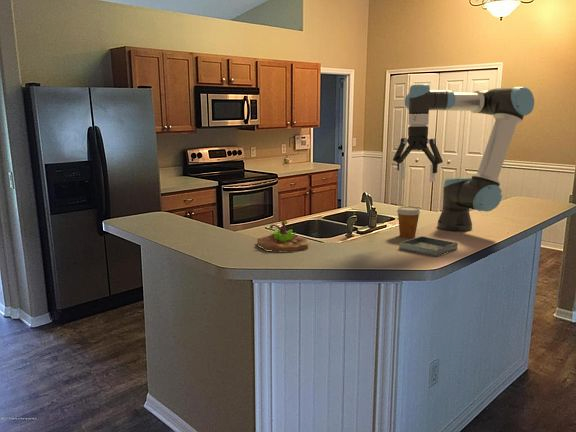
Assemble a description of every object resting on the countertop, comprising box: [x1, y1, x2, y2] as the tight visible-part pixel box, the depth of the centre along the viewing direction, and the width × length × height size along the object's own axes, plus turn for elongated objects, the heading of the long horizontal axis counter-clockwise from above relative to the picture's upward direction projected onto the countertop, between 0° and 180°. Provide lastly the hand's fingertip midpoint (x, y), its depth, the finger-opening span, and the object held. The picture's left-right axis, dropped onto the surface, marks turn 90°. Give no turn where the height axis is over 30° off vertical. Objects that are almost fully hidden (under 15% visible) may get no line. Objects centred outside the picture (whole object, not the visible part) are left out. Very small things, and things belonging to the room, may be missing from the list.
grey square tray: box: [398, 235, 459, 258], centre depth 183 cm, size 16×16×2 cm
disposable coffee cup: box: [396, 206, 421, 239], centre depth 202 cm, size 10×10×12 cm
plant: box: [256, 219, 309, 252], centre depth 187 cm, size 20×20×11 cm
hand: (416, 180), depth 190 cm, fingers open, 13 cm apart
